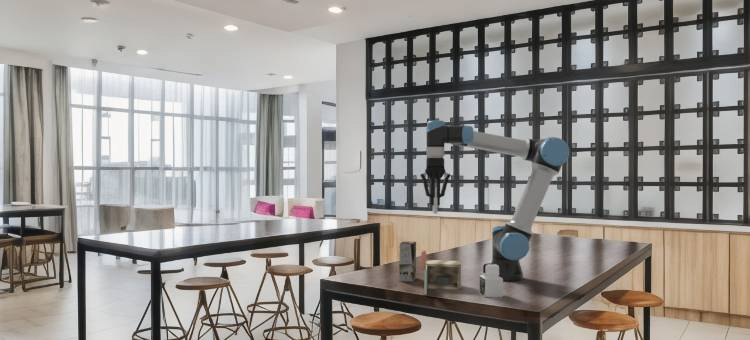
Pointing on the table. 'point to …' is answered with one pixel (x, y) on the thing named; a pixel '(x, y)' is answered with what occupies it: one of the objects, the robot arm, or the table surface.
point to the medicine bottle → (491, 281)
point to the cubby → (444, 274)
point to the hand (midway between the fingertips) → (435, 213)
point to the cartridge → (443, 280)
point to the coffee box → (407, 261)
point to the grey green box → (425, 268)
